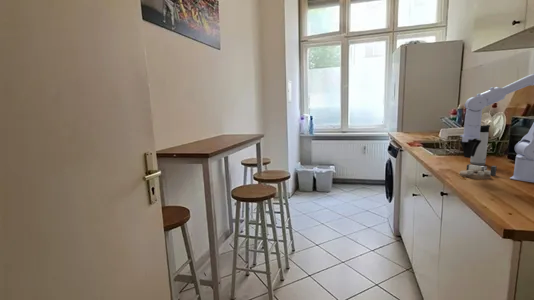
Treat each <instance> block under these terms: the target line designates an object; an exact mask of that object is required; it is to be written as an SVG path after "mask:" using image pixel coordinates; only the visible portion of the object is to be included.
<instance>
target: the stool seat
mask: <svg viewBox="0 0 534 300" xmlns="http://www.w3.org/2000/svg"><path fill="white" fill-rule="evenodd" d="M490 174H491V170H488V169H487V170H484V172H483V171H478V172H475V171H473V170H465V169H464V170H460V171H459V176H461V177H463V178H466V179H467V178H468V179H473V180H475V179H476V180H489V179H491V175H490Z"/></svg>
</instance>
